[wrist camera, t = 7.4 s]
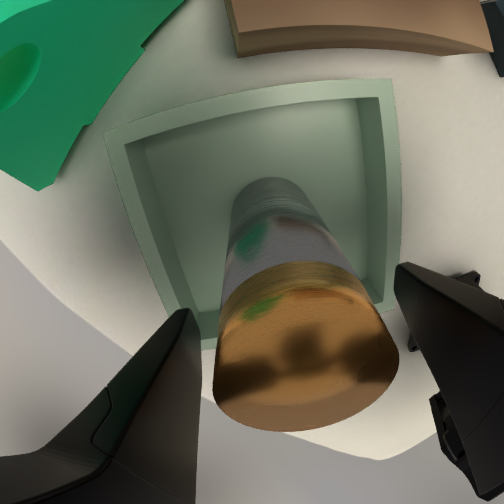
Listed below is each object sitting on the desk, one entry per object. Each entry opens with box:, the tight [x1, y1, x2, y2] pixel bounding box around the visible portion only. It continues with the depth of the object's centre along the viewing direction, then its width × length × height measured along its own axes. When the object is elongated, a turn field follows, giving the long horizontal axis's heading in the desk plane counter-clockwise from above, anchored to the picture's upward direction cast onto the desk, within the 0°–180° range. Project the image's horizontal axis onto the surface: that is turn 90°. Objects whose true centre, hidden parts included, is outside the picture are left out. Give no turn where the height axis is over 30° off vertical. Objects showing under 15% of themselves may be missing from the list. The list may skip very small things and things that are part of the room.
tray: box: [103, 79, 402, 350], centre depth 13 cm, size 12×12×3 cm
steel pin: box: [212, 177, 399, 432], centre depth 10 cm, size 4×4×10 cm
